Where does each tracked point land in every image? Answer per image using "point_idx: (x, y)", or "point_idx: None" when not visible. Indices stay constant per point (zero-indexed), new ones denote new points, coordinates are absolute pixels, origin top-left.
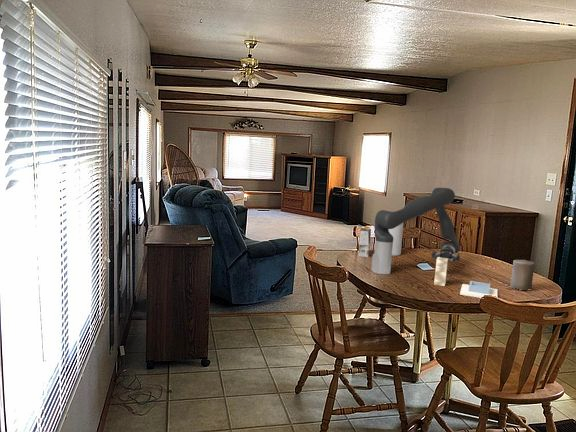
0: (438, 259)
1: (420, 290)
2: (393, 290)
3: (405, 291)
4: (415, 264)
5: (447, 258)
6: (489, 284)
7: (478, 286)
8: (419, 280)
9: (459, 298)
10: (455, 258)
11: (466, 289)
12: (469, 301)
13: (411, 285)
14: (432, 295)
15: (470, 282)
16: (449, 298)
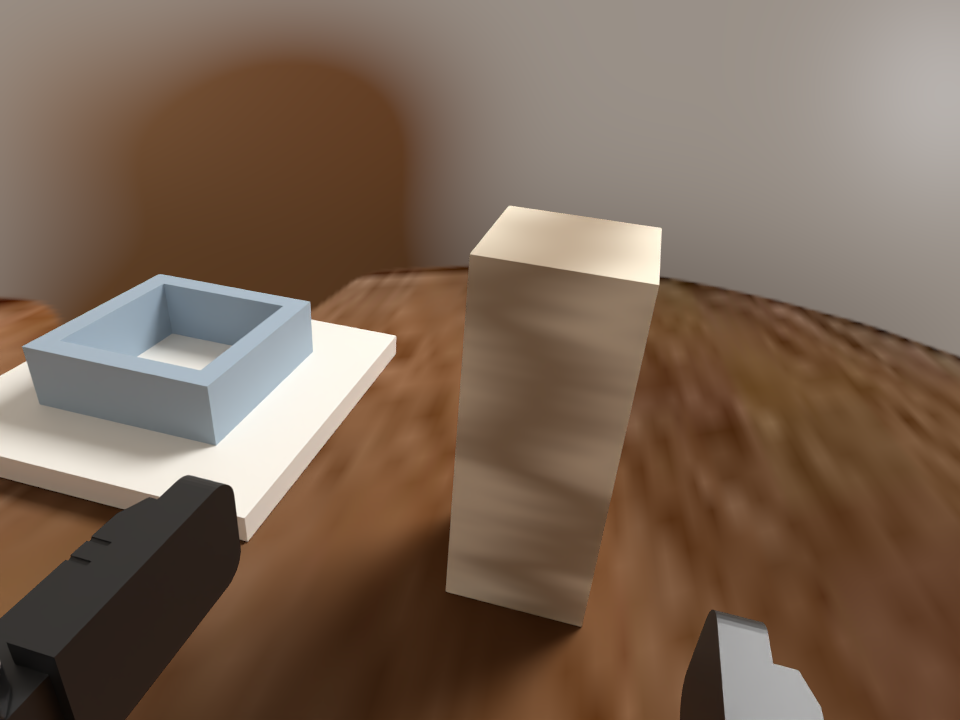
0: (633, 227)
1: (695, 377)
2: (867, 355)
3: (787, 352)
4: None
5: (482, 253)
6: (60, 329)
7: (239, 290)
8: (801, 646)
9: (428, 308)
10: (127, 510)
11: (307, 380)
12: (380, 286)
13: (806, 458)
14: None
15: (248, 347)
16: None
